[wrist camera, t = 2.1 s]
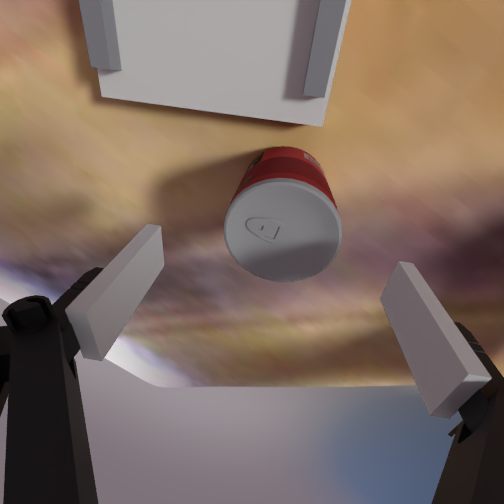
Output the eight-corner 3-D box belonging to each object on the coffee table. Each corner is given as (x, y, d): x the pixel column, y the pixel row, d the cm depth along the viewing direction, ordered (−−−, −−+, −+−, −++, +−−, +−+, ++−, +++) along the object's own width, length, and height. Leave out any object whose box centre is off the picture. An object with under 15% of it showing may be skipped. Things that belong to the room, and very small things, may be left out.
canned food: (246, 141, 25) (220, 176, 16) (332, 147, 25) (357, 186, 15) (244, 215, 29) (223, 277, 20) (317, 222, 29) (330, 289, 20)
